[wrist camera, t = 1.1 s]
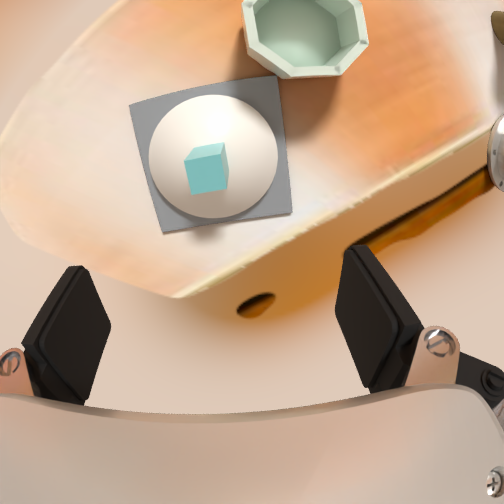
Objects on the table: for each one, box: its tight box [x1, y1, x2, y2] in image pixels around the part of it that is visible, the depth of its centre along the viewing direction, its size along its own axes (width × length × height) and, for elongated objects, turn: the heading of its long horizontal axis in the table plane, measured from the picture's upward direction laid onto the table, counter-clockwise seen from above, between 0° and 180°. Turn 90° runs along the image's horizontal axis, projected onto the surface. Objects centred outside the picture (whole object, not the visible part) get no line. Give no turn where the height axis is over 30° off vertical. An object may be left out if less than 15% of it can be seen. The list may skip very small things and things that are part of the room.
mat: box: [129, 75, 292, 232], centre depth 28 cm, size 15×15×1 cm
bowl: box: [241, 0, 369, 79], centre depth 19 cm, size 10×10×6 cm
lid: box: [149, 95, 278, 218], centre depth 25 cm, size 13×13×6 cm
